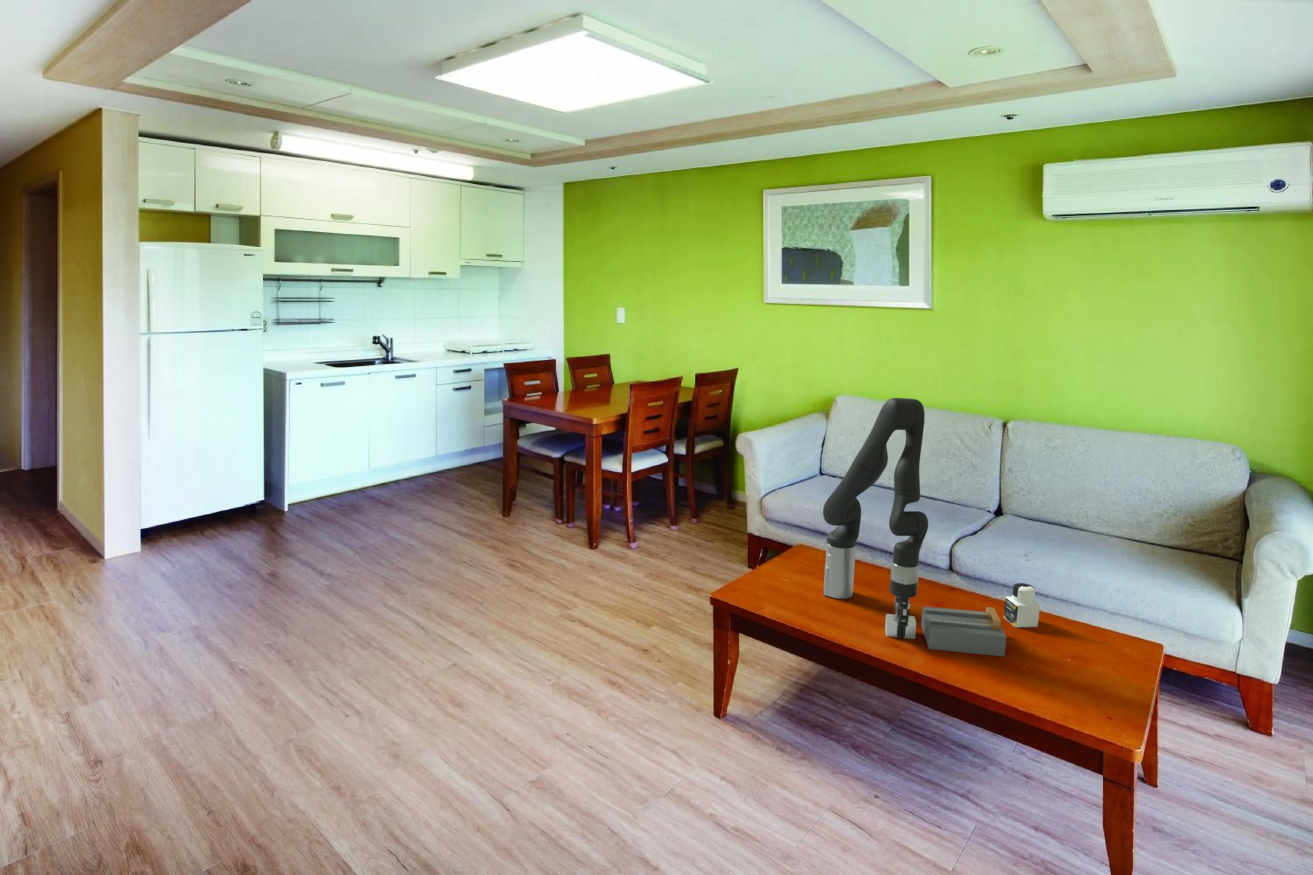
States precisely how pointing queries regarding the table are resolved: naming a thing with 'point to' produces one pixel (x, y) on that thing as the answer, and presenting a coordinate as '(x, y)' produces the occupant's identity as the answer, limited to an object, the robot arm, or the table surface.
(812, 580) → the table surface
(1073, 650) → the table surface
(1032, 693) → the table surface
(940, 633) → the channel stand
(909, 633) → the aluminium block
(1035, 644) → the table surface
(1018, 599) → the medicine bottle
